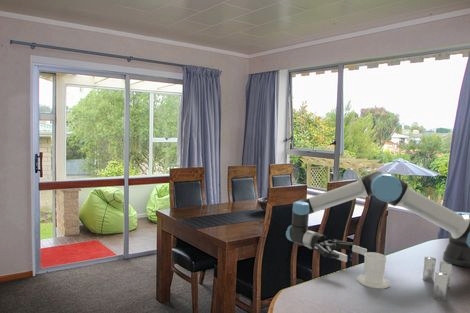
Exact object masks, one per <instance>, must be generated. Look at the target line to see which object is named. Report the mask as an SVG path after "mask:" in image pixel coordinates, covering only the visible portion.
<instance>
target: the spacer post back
mask: <svg viewBox="0 0 470 313" xmlns="http://www.w3.org/2000/svg"><path fill="white" fill-rule="evenodd" d="M452 267H453V264H452V263H449V262H447V261H445V260H444V261H443V260H441V261H439V269H438V272H443V273H446V274H448V281H447V289H449V288H450V284H451V276H452Z"/></svg>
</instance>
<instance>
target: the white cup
mask: <svg viewBox="0 0 470 313" xmlns="http://www.w3.org/2000/svg"><path fill="white" fill-rule="evenodd" d="M386 262H387V256H386V255H385V254H382V253H380V252H375V251H373V252H372V251H371V252H370V251H367V253H365V255H364V264H363V266H364V267H363V268H364V270H363V272H364V274H363V275H364V279H365V280H366V281H367V282H370V283H374V284H380V283H382V282H383V278H384V276H385V270H386Z"/></svg>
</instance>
